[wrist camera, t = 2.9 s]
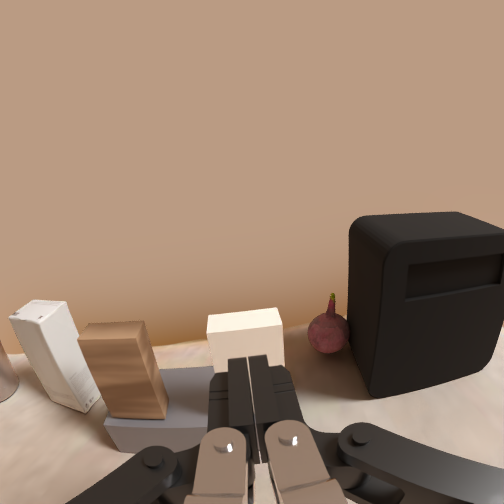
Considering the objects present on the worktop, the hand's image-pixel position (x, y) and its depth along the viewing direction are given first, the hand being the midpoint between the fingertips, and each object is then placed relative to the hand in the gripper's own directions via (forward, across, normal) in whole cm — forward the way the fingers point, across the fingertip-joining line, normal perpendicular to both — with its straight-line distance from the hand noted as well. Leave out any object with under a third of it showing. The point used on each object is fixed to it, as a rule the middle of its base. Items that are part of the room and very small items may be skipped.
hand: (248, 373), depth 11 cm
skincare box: (+20, +26, +20) cm, 38 cm away
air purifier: (+21, -24, +20) cm, 38 cm away
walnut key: (+13, +12, +15) cm, 23 cm away
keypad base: (+15, +6, +20) cm, 26 cm away
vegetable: (+26, -12, +20) cm, 35 cm away
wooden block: (+13, 0, +15) cm, 19 cm away
